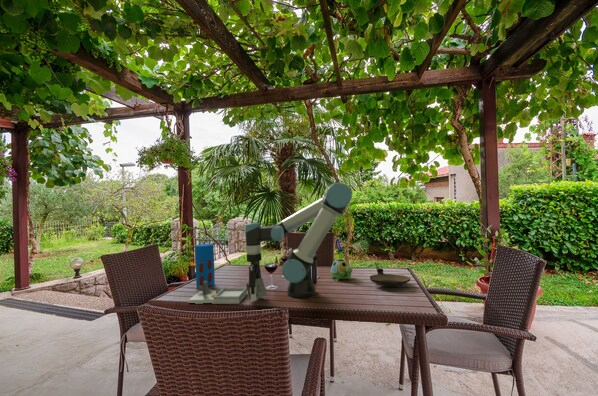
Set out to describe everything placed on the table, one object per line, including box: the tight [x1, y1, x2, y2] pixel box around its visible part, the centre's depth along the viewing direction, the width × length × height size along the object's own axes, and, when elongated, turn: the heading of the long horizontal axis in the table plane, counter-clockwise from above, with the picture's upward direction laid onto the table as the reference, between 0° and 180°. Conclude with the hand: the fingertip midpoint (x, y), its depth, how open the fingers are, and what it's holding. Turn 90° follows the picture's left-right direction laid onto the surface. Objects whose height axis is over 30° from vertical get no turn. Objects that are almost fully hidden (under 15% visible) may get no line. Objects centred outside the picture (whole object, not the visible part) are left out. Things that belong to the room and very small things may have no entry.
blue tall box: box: [194, 243, 216, 289], centre depth 182 cm, size 11×11×25 cm
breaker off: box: [196, 285, 213, 293], centre depth 160 cm, size 1×3×8 cm
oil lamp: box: [369, 265, 411, 288], centre depth 173 cm, size 22×30×8 cm
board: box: [188, 287, 248, 305], centre depth 156 cm, size 26×15×4 cm, turn 85°
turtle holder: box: [330, 258, 353, 282], centre depth 186 cm, size 12×18×12 cm
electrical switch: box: [245, 277, 267, 300], centre depth 152 cm, size 9×5×9 cm, turn 141°
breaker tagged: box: [202, 281, 208, 297], centre depth 154 cm, size 1×3×8 cm, turn 175°
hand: (256, 296), depth 152 cm, fingers closed on electrical switch, 10 cm apart
